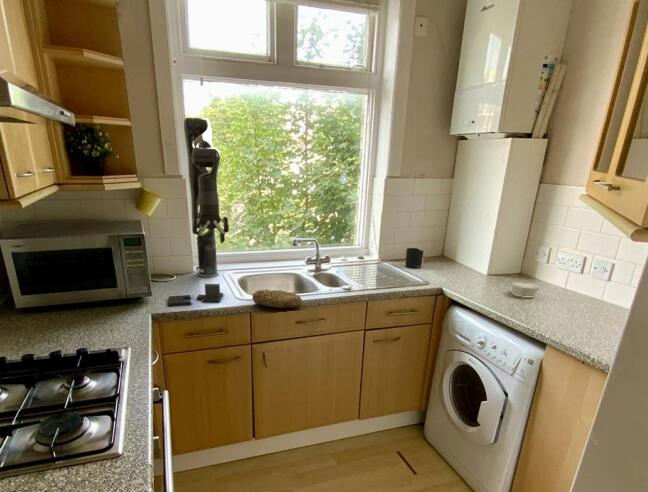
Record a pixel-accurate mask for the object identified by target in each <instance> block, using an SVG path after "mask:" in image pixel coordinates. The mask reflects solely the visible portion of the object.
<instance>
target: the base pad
mask: <svg viewBox="0 0 648 492" xmlns="http://www.w3.org/2000/svg"><path fill="white" fill-rule="evenodd" d="M191 305H192V300H191V294H185V295H183V294H181V295H169V296H168V305H167V306H168V307H180V306H191Z"/></svg>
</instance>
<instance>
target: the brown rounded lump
mask: <svg viewBox="0 0 648 492" xmlns="http://www.w3.org/2000/svg"><path fill="white" fill-rule="evenodd" d="M251 297H252V300H253V302H254V304H257V305H260V306H263V307H264V306H265V307H269V308H273V309H293V308H297V307H300V306H302V305H303V299H302V297H301V296H300V295H299V294H296V293H294V292H289V291H285V290H281V289H280V290H279V289H275V290H269V289H257V290H255V292H253V293H252V296H251Z"/></svg>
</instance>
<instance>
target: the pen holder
mask: <svg viewBox="0 0 648 492" xmlns="http://www.w3.org/2000/svg"><path fill="white" fill-rule="evenodd" d="M405 251H406V252H405V267H406V268H408V269H412V270H413V269H414V270H415V269H416V270H417V269H421V268H422V264H423V257H424V250H422V249H419V248H418V247H408V248H406V250H405Z"/></svg>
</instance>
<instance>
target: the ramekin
mask: <svg viewBox="0 0 648 492" xmlns="http://www.w3.org/2000/svg"><path fill="white" fill-rule="evenodd" d="M539 287H540V286H539V285H537V284H535V283H532V282H527V281H513V282H512V283H511V294H512V296H514V297H517V298H521V299H533V298H535V296H536V295H537V293H538V290H539ZM512 292H513V293H514V294H513V293H512ZM515 294H517V295H515ZM518 295H521V296H518ZM523 296H534V297H523Z"/></svg>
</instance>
